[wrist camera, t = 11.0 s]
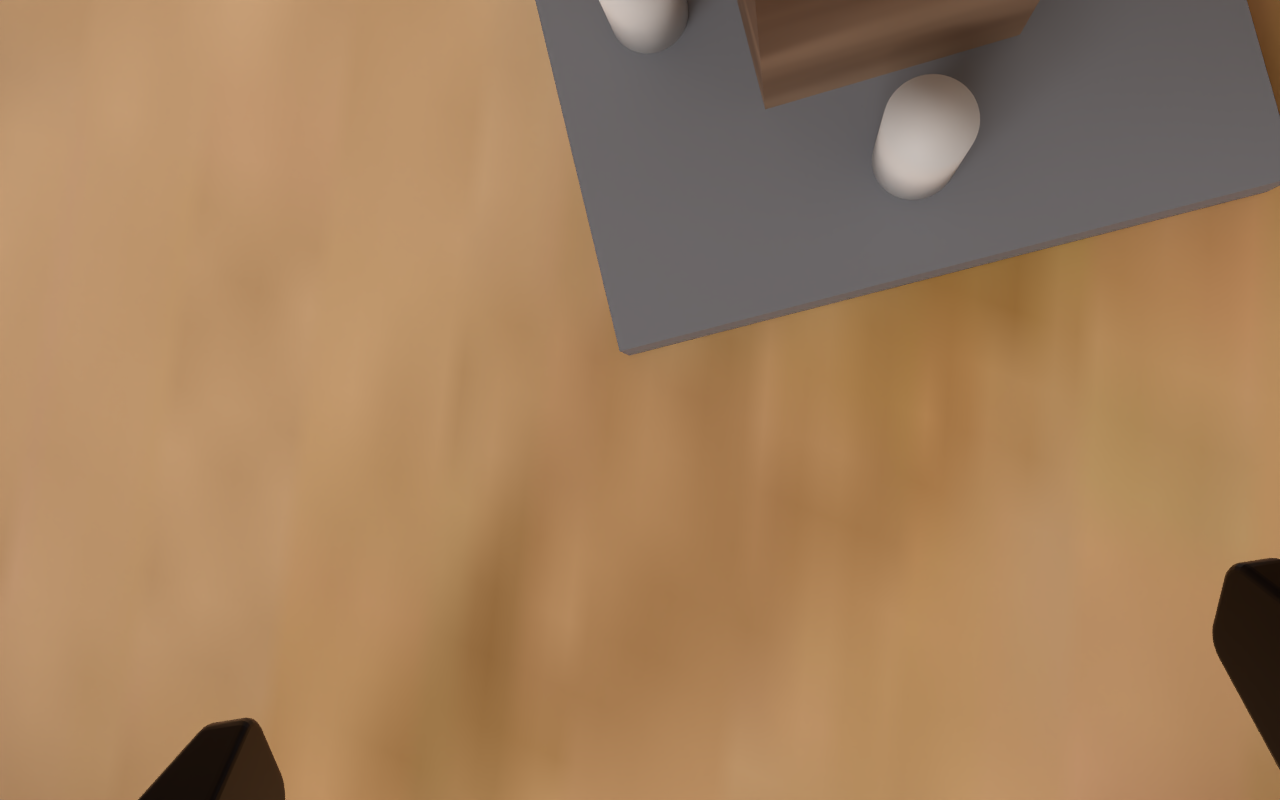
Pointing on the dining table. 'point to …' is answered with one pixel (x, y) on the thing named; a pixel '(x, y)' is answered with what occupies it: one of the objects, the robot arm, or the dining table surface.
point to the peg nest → (889, 151)
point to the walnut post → (864, 38)
